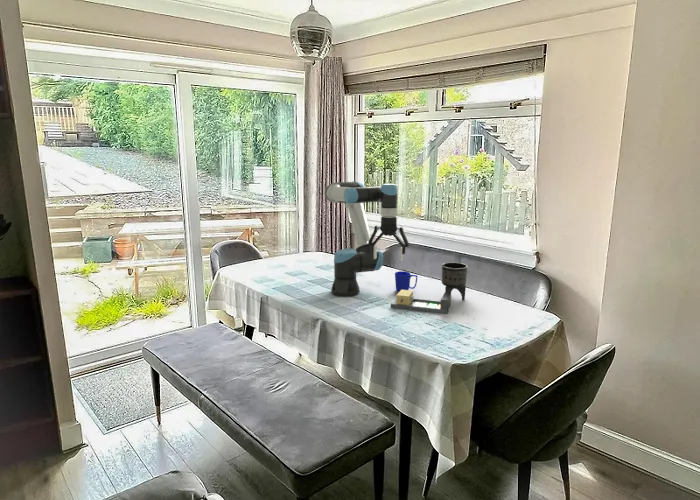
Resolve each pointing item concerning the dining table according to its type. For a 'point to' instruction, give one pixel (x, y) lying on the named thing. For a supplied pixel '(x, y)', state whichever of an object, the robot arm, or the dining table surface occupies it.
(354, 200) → the robot arm
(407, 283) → the mug
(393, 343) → the dining table surface
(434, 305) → the tray
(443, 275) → the planter
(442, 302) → the dark grey block
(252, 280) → the dining table surface
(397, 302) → the block
